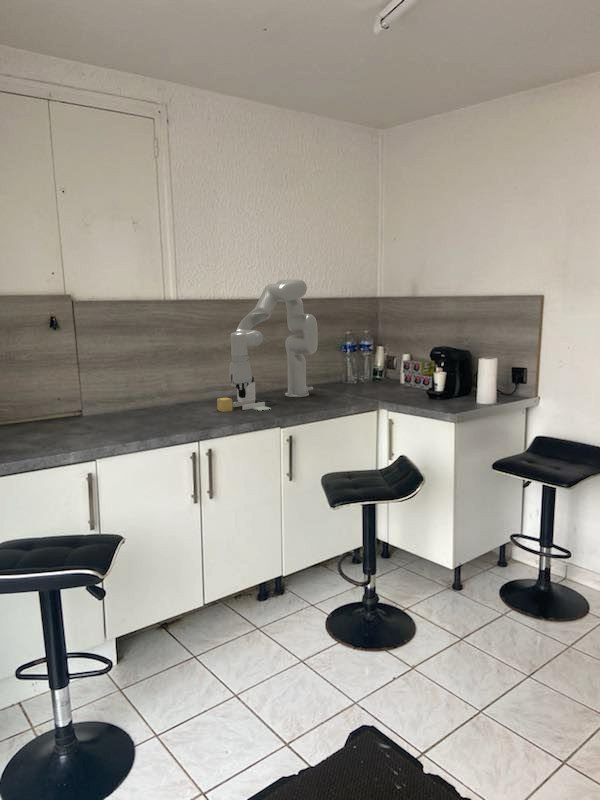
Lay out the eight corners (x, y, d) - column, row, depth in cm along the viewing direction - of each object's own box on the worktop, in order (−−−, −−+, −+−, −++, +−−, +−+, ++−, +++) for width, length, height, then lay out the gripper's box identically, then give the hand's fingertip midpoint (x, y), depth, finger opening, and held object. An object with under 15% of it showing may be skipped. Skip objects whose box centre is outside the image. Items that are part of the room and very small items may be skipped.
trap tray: (267, 402, 284) (267, 399, 284) (276, 404, 278) (276, 402, 278) (255, 403, 280) (255, 401, 279) (264, 406, 274) (264, 403, 274)
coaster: (263, 407, 272) (263, 405, 272) (271, 409, 267) (271, 408, 267) (251, 408, 268) (251, 407, 268) (259, 411, 263) (259, 409, 263)
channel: (254, 403, 280) (254, 399, 280) (265, 406, 273) (264, 402, 272) (232, 406, 273) (232, 402, 273) (243, 410, 266) (243, 405, 265)
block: (226, 409, 269) (226, 397, 268) (232, 410, 265) (232, 399, 264) (217, 410, 266) (217, 398, 265) (222, 412, 262) (222, 400, 261)
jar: (237, 402, 284) (237, 378, 282) (237, 399, 292) (236, 376, 289) (255, 401, 285) (255, 377, 283) (255, 398, 293) (254, 375, 291)
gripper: (249, 356, 273) (251, 393, 278) (221, 360, 265) (224, 398, 269) (257, 357, 268) (260, 396, 272) (230, 361, 259) (232, 401, 263)
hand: (242, 397), depth 270 cm, fingers closed
